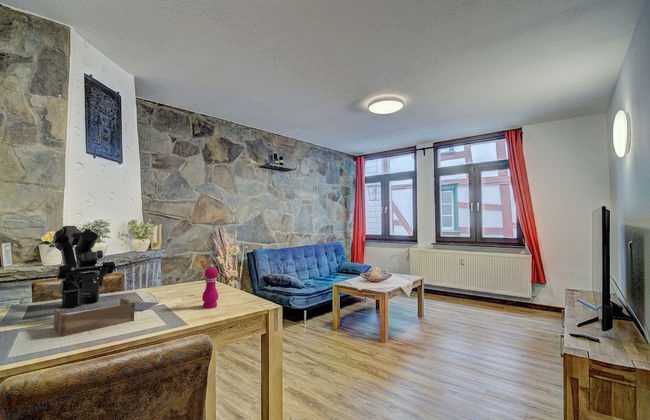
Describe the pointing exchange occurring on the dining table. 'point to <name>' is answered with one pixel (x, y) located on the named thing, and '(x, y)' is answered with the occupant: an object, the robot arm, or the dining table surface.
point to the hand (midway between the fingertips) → (90, 286)
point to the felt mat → (143, 305)
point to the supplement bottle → (89, 289)
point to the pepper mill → (210, 288)
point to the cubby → (93, 318)
